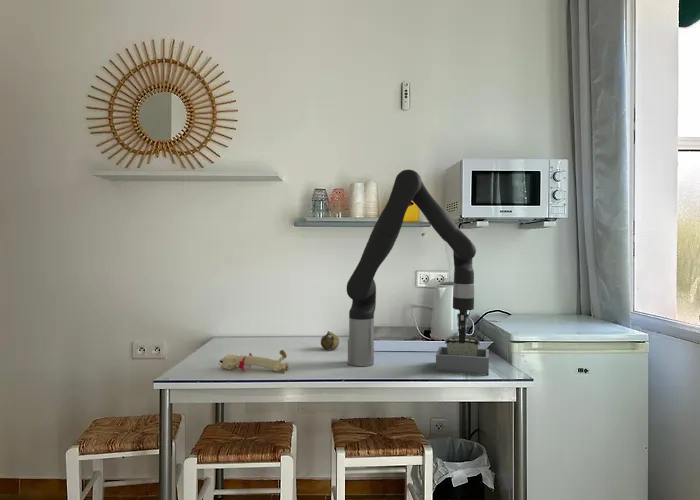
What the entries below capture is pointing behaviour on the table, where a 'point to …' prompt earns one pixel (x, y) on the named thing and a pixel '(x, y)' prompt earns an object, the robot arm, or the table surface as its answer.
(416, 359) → the table surface
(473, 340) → the food container
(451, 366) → the grey bin
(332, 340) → the onion
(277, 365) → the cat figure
